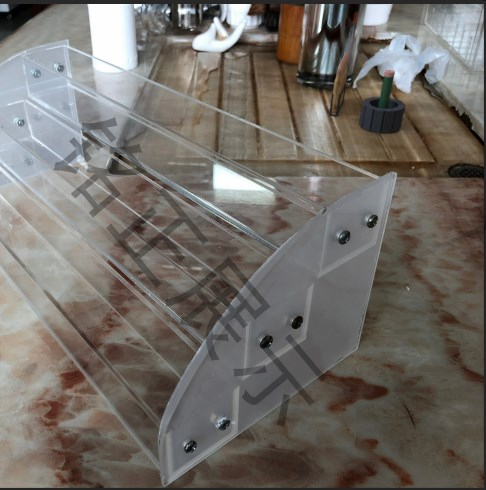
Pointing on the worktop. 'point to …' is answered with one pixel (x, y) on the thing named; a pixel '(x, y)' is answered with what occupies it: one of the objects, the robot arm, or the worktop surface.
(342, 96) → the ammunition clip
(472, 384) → the worktop surface
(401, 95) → the worktop surface
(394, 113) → the grooved round container
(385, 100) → the pencil
